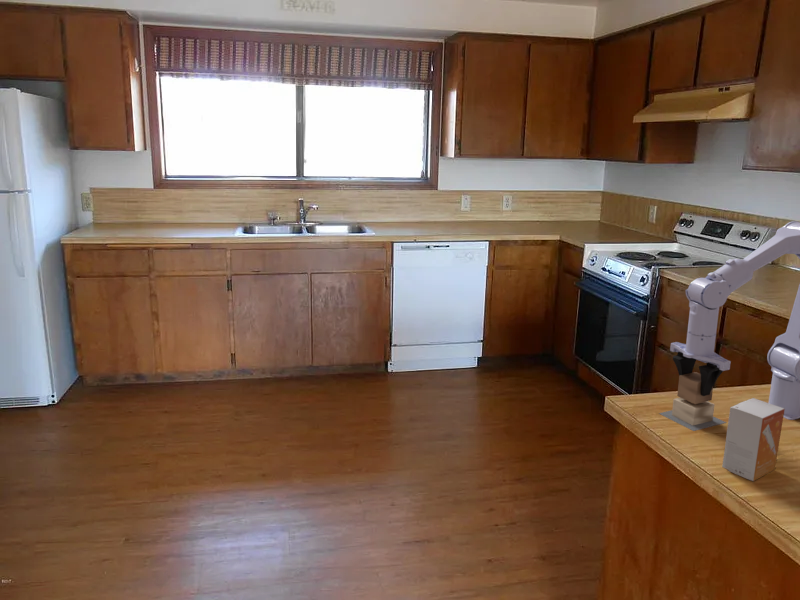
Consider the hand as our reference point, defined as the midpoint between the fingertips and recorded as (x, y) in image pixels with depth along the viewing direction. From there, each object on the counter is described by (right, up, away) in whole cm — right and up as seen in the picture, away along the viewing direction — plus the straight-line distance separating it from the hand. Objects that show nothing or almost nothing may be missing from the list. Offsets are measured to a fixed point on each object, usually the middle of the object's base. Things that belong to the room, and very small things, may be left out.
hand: (695, 390), depth 143 cm
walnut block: (0, -2, +1) cm, 2 cm away
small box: (+1, -13, -20) cm, 24 cm away
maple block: (0, -7, +2) cm, 7 cm away
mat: (0, -7, +2) cm, 7 cm away
